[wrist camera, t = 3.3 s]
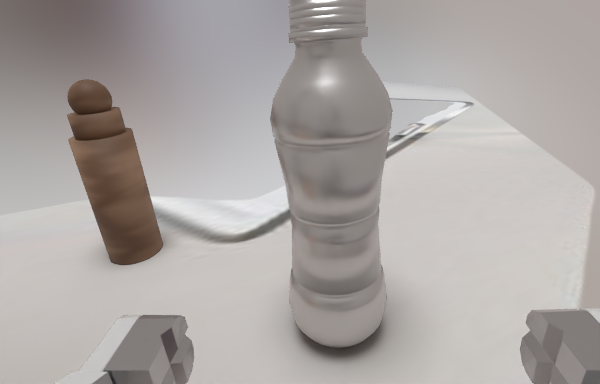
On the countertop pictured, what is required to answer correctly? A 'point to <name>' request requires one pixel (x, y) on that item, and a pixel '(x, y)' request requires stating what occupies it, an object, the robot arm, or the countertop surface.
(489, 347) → the countertop surface
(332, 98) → the plastic bottle
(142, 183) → the pepper mill
